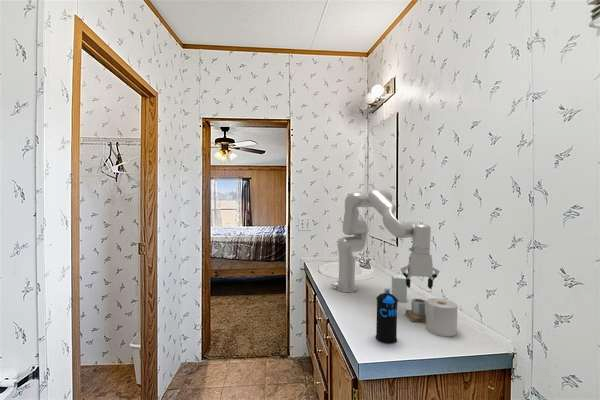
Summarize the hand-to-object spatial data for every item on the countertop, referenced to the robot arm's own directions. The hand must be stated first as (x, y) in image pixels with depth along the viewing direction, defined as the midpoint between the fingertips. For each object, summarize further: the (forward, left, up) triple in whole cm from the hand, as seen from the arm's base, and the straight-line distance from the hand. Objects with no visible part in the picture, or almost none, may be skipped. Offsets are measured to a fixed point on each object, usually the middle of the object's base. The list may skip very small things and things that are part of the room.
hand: (419, 287), depth 141 cm
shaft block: (0, -1, -14) cm, 14 cm away
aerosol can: (-20, -23, -14) cm, 33 cm away
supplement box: (-3, +24, -14) cm, 28 cm away
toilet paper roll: (+5, -13, -14) cm, 20 cm away
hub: (0, 0, -12) cm, 12 cm away
